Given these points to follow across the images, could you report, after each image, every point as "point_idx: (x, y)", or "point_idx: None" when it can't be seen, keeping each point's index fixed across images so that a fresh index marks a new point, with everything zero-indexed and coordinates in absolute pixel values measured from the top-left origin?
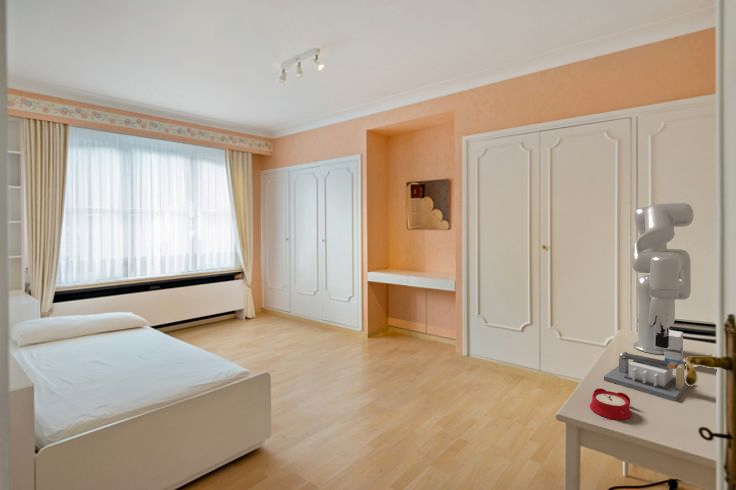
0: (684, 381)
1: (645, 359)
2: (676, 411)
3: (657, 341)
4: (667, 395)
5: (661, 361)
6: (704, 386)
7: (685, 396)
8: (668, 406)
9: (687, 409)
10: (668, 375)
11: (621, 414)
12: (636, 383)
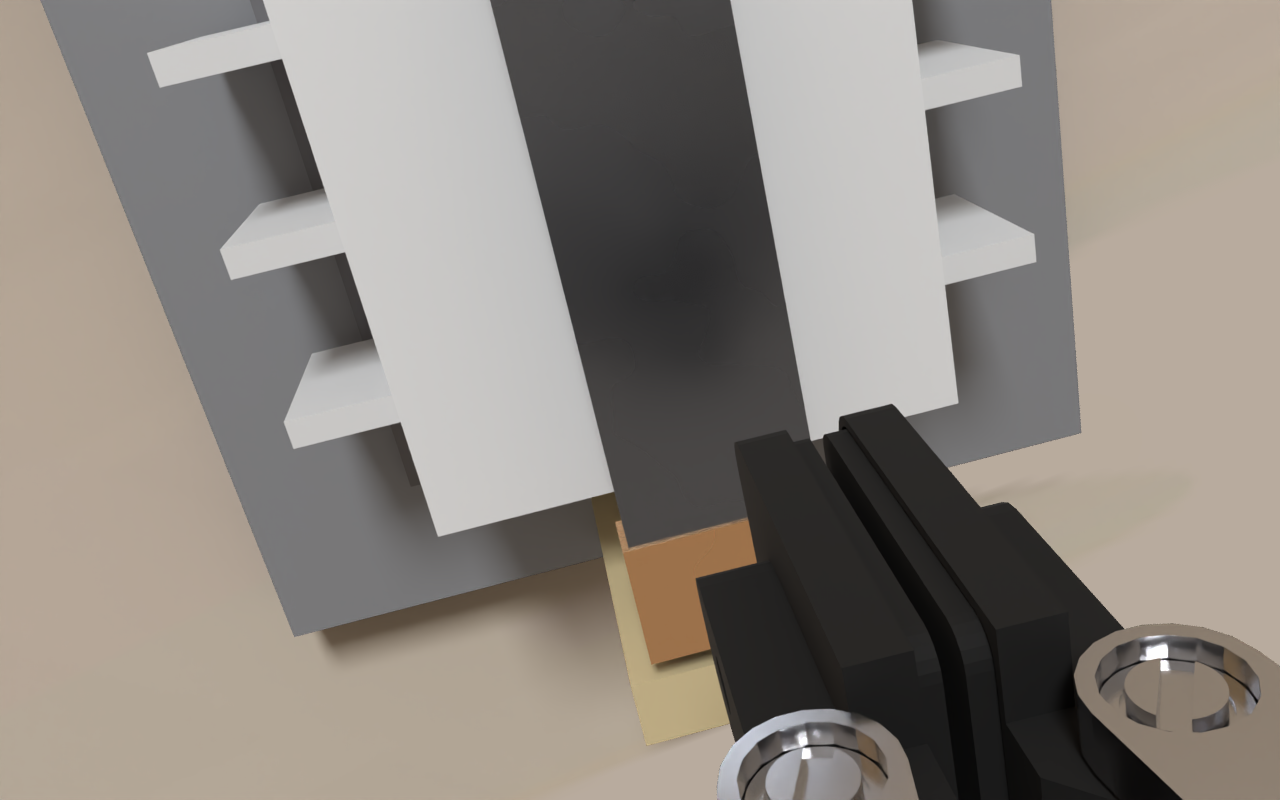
0: (938, 424)
1: (548, 136)
2: (48, 740)
3: (773, 571)
4: (264, 554)
5: (696, 404)
6: (1098, 513)
7: (577, 572)
8: (81, 639)
9: (229, 756)
10: None
11: None
12: (191, 128)
